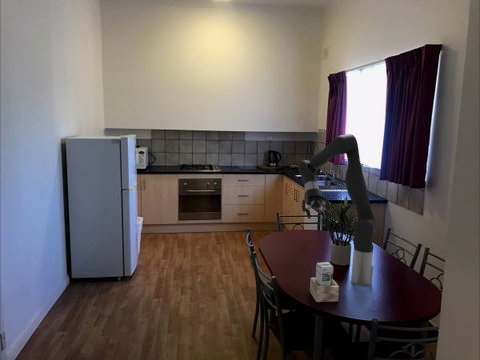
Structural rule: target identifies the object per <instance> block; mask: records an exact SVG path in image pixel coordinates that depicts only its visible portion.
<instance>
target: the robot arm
mask: <svg viewBox="0 0 480 360" xmlns="http://www.w3.org/2000/svg"><path fill="white" fill-rule="evenodd" d="M339 155H346V159H347V169H346V172H345V176H344V177H345V179H344V180H345V181H344V183H345V187H346V191H347V194H348V197H349V199H350V200H351V202H352V204H353V206H354V207H355V211H356V214H357V215H356V216H357V221H356V222H355V223H354V225H353V226H354V227H353V233H352V234H353V237H352V243H353V253H352V255H353V256H352V266H351V276H350V282H351V283H352V284H354V285H355V286H358V287H359V286H360V287H367V286H370V285H373V275H374V266H373V258H374V257H373V256H374V244H373V238H374V237H373V236H374V233H375V232H376V231H377V228H378V227H377V225H378V224H377V222H376V218H375V215H374V214H373V210H372V207H371V204H370V203H371V202H370V199H369V198H370V197H369V193H368V190H367V189H368V188H367V184H366V180H365V177H364V173H363V169H362V164H361V157H360V151H359V144H358V140H357V138H356V137H355V135H354V134H351V133H348V134H347V133H346V134H342V135H338V136H336V137H335V138H334V139H332V141H330V142H329V144H328V145H326V146H325V147H324V148H323V149H321V150H320V151H318V152H317V153H316V154H314V155H313V156H311V157H310V159H309V160H305V159H302V160H300V161H299V162H298V164H297V169H298V173H299V175H300V176H301V179H302V180H303V184H304V185H303V186H304V194H305V197H306V199H302V200H301V210H302V212H303V213H304V212H305V213H306V217H307V218H308V219H311V218H312V216H311V211H310V210H311V209H313V210H314V209H316V210H319V211H321V212H323V213H322V214H323V218H324V220H327V218H328V212H330V210H331V207H330V205H329V201H328V199H325V200H322V195H321V192H320V188H319V184H318V179H317V176H316V175H315V174H316V173H317V171H318V170H319V169H320V168H321V167H322V166H324V165H326V164H327V163H328V162H329V161H330V160H331V158H333V157H336V156H339ZM306 205H308V207H307V206H306Z"/></svg>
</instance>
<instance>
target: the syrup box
mask: <svg viewBox="0 0 480 360" xmlns="http://www.w3.org/2000/svg"><path fill="white" fill-rule="evenodd" d="M315 267H316V270H315V271H316V272H315V278H316V283H317V284H318V285H319V286H332V280H334V279H333V277H334V265H332V264H331V263H330V262H328V261H326V262H317V263H316V266H315Z"/></svg>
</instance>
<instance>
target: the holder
mask: <svg viewBox="0 0 480 360" xmlns="http://www.w3.org/2000/svg"><path fill="white" fill-rule="evenodd" d="M309 286H310V287H309V293H310V295H312V297H313V299H314V301H315V302H316V303H321V302H322V303H323V302H326V303H327V302H328V303H330V302H339V295H340V294H339V293H340V286H339V284H338V283H337V282H336V281H335V280H334V279H333V280H332V286H319V285H318V284H317V283H316V277H310V284H309Z"/></svg>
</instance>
